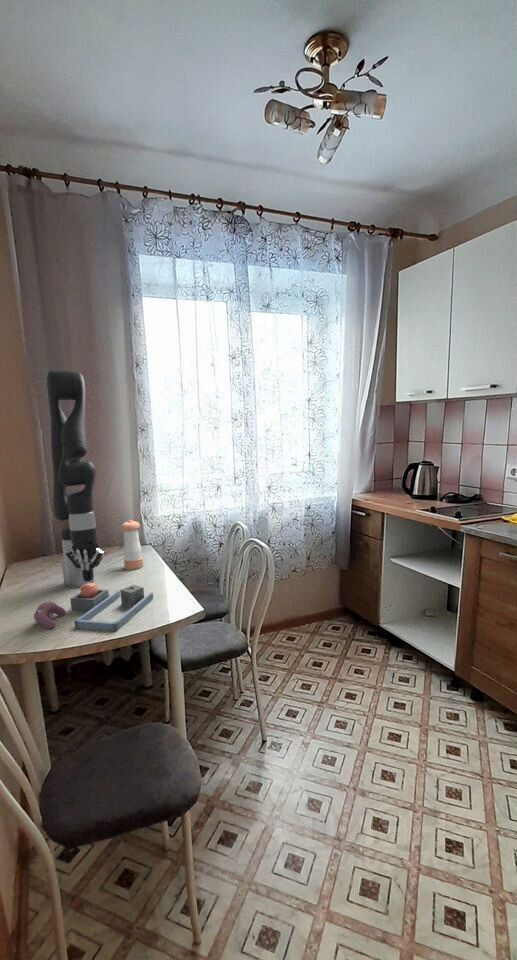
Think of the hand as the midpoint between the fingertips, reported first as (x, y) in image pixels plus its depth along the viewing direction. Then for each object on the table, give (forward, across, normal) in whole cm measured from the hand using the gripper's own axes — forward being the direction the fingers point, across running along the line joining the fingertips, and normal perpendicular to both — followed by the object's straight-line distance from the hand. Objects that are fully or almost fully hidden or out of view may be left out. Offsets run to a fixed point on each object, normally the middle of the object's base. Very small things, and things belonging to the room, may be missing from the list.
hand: (88, 580), depth 135 cm
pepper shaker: (+8, -6, +37) cm, 39 cm away
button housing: (+8, 0, 0) cm, 8 cm away
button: (+5, 0, 0) cm, 5 cm away
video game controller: (+9, -6, -12) cm, 16 cm away
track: (+8, +11, -3) cm, 14 cm away
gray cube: (+9, +12, +4) cm, 16 cm away
